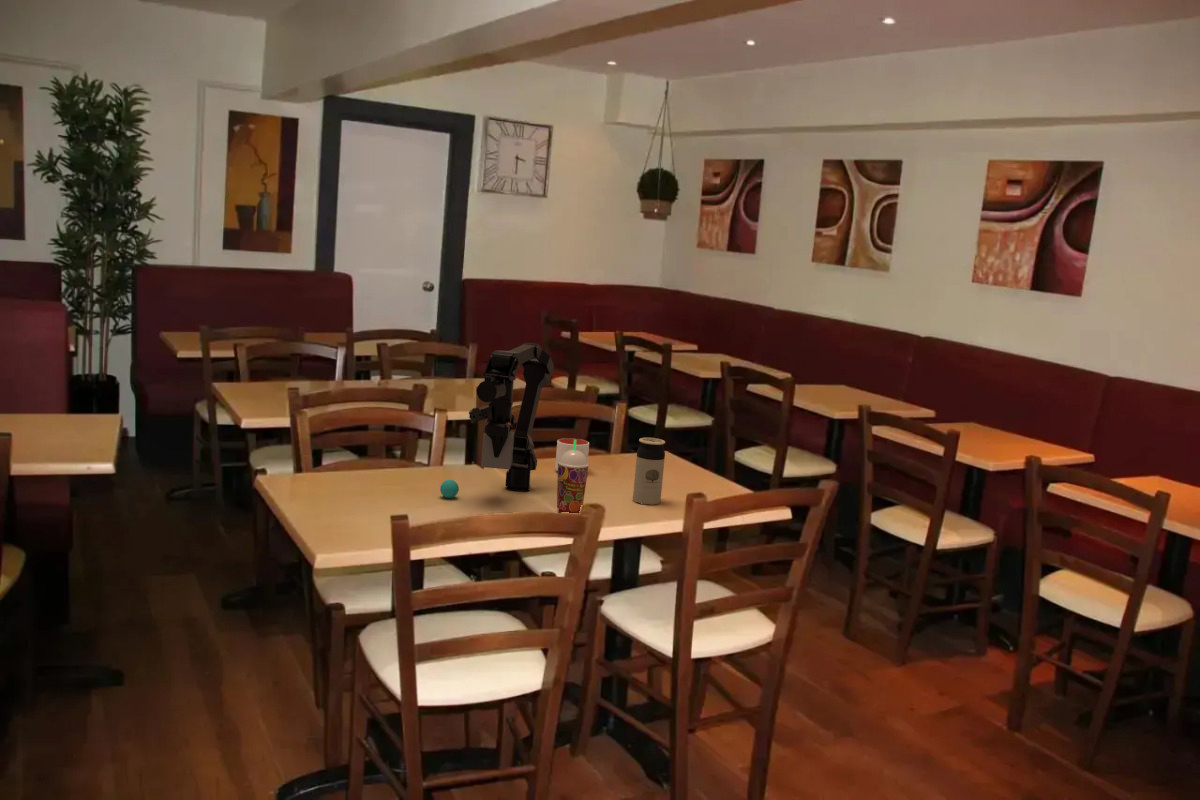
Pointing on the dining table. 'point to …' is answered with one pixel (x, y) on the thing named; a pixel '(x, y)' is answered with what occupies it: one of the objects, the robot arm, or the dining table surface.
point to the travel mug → (649, 471)
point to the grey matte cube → (504, 458)
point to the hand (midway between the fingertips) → (497, 454)
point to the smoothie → (571, 480)
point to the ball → (449, 488)
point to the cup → (570, 447)
